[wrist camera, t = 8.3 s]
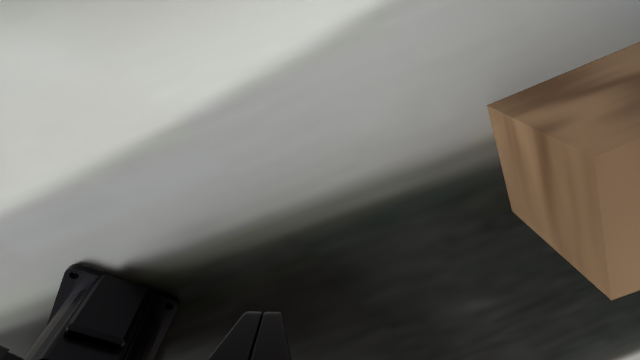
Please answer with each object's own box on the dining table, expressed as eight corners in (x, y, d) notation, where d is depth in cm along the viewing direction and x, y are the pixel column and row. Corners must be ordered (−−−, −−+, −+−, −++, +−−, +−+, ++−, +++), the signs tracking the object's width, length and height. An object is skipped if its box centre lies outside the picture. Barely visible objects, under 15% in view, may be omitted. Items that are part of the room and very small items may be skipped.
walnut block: (511, 210, 24) (611, 300, 17) (486, 105, 21) (593, 157, 14) (659, 152, 23) (832, 220, 16) (653, 35, 20) (861, 51, 13)
